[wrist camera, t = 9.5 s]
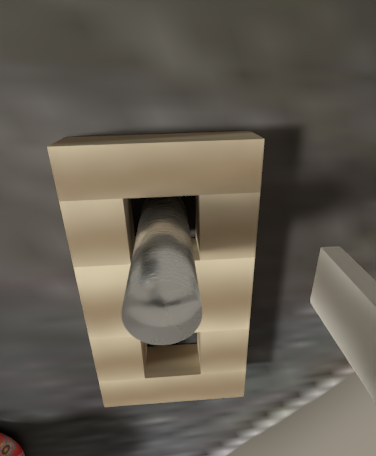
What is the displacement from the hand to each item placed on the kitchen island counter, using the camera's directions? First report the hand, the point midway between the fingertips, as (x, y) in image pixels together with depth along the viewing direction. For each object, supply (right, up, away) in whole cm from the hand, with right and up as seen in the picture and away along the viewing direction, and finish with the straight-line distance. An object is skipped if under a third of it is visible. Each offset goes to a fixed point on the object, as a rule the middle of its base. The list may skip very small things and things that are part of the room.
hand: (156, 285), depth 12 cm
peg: (0, +3, +8) cm, 9 cm away
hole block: (0, -1, +10) cm, 10 cm away
